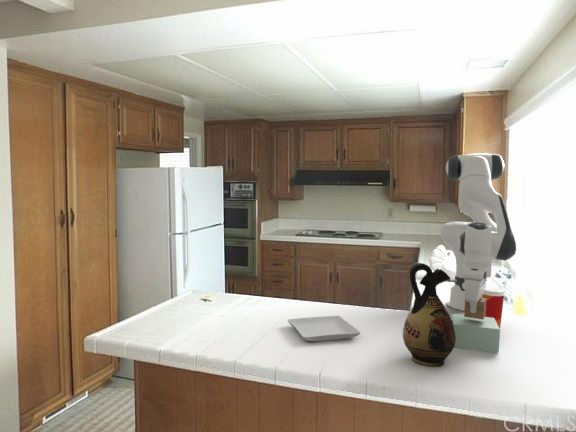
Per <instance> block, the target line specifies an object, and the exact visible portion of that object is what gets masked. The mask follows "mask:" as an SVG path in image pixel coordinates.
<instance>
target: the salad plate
mask: <svg viewBox="0 0 576 432" xmlns="http://www.w3.org/2000/svg"><path fill="white" fill-rule="evenodd" d="M287 322H288V323H289V325H290V326H291V327H292V328H293V329H295V331H296V332H298V334H299V335H300V336H301V337H302V340H304V341H307V342H326V341H339V340H347V339H353V338H355V337H358V336H359V335H361V331H360V330H359V329H357V328H356V327H354V325H352V324H350V323H349V322H348V321H347V320H345V319H344V318H343V317H341V316H340V315H328V316H314V317H313V316H312V317H311V316H310V317H301V318H300V317H299V318H288V319H287Z"/></svg>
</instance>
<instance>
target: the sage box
mask: <svg viewBox="0 0 576 432" xmlns="http://www.w3.org/2000/svg"><path fill="white" fill-rule="evenodd" d="M451 319H452V322H453V325H454V330H455V335H456V341H455V346H454V348H456V347H459V348H458V349H464V348H468V349H467V350H472V349H476V350H475V351H482V352H489V351H490V352H489V353H497V352H500V333H501V328H500V329H499V327H498V325H497V323H496V321H495V319H494V318H490V317H484V319H483V320H482V319H476V318H469V317H464V314H459V313H451Z"/></svg>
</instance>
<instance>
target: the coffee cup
mask: <svg viewBox="0 0 576 432" xmlns="http://www.w3.org/2000/svg"><path fill="white" fill-rule="evenodd" d="M504 296H506V293H505V291H504V290H503V289H500V288H499V289H498V288H493V287H486V289H485V292H484V294H483V295H482V298H486V316H485V317H490V318H494V319H495V321H496V323H497V325H498V327H499V329H500V330H501V324H502V316H503V306H504V299H505V297H504Z"/></svg>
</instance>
